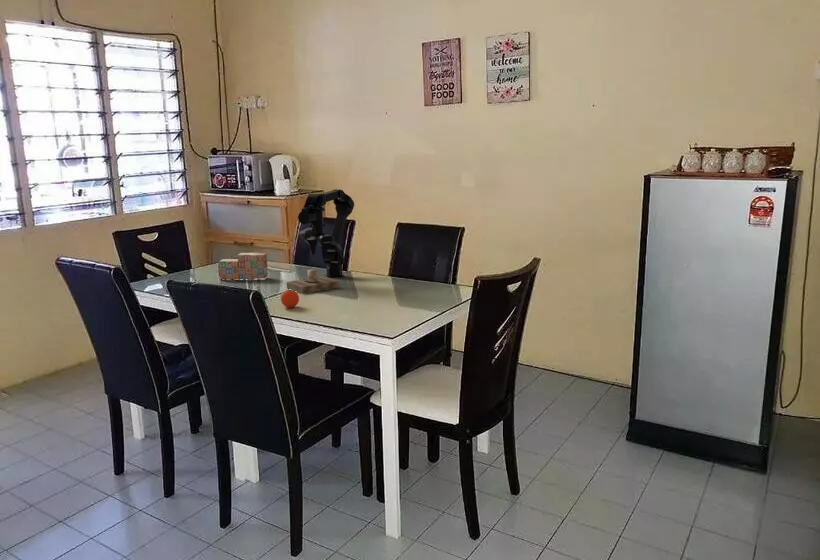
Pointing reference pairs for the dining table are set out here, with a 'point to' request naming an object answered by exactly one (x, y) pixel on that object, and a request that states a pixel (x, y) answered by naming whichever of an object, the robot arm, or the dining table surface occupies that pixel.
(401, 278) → the dining table surface
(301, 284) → the board
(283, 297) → the clementine
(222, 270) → the stack of blocks
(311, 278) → the peg
